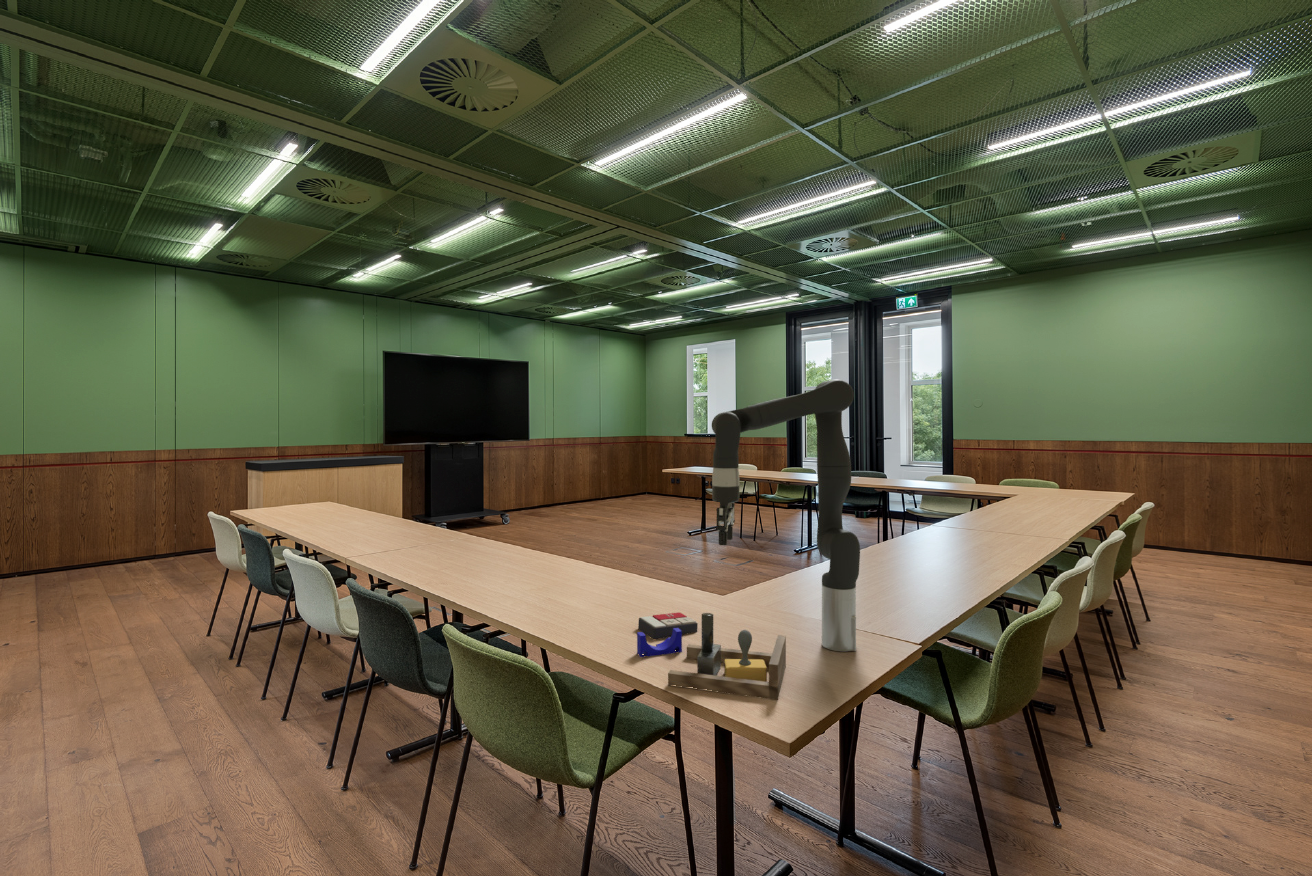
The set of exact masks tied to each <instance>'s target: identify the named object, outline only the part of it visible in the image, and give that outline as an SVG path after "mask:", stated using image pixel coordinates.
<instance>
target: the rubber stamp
mask: <svg viewBox="0 0 1312 876" xmlns="http://www.w3.org/2000/svg"><path fill="white" fill-rule="evenodd" d="M737 642H738V645H739V648H740V650H741V651H742V659H725V660H724V662H723V663H724V665H723V666H724V667H723V669H724V670H723V672H724V677H731V678H739V679H748V680H756V681H764V682H768V677H767V675H768V667H766V665H765V662H764V660H760V659H748V651H750V648H751V645H752V642H753V636H752V633H751V632H750V631H749V630H747V629H743V630H741V631H740V632H739V633H738V637H737Z"/></svg>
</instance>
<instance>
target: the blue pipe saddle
mask: <svg viewBox="0 0 1312 876" xmlns="http://www.w3.org/2000/svg"><path fill="white" fill-rule="evenodd" d="M636 639H637V640H636V641H637V642H636V646H637V647H636V653H637V655H638V654H639V655H638V656H639V658H645V657H644V656H648V657H653V656H655V657H656V656H661V655H662V654H663V655H669V654H677V653H676V652H679V653H683V650H682V649H683V641H682V640H683V635H682V631H681V630H680V629H679V628H673V633H672V636H669V637H667V638H665V640H664V641H662V642H660V643H656V644H655V645H651V644H649V643H648V641H647V635H646V634H645V633H643V632H642V631H638V632H636ZM675 650H676V651H675ZM642 654H644V655H642Z"/></svg>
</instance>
